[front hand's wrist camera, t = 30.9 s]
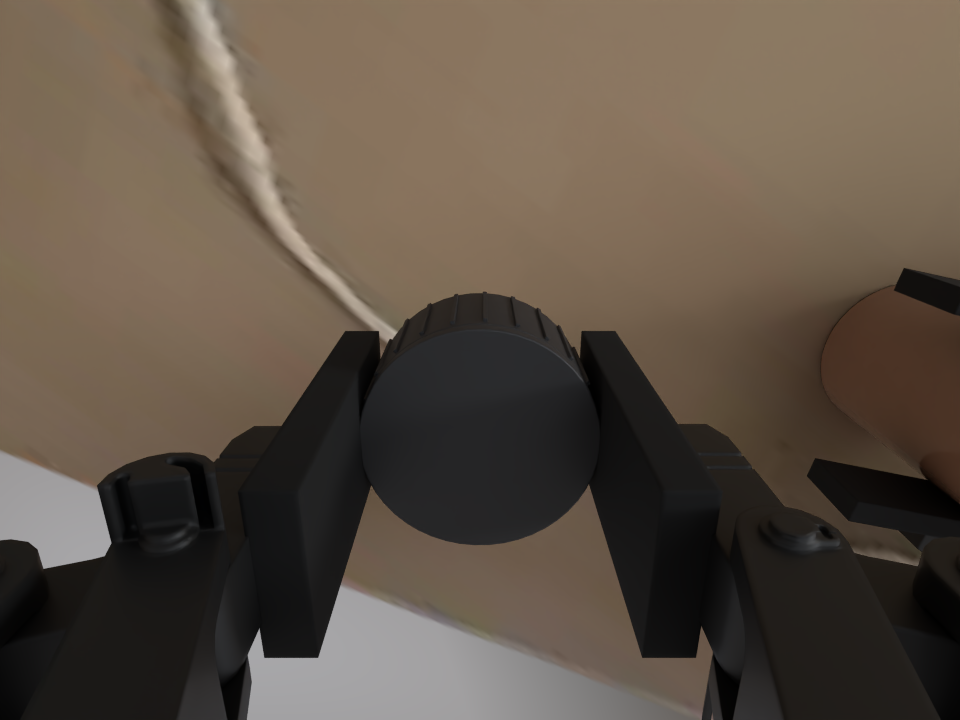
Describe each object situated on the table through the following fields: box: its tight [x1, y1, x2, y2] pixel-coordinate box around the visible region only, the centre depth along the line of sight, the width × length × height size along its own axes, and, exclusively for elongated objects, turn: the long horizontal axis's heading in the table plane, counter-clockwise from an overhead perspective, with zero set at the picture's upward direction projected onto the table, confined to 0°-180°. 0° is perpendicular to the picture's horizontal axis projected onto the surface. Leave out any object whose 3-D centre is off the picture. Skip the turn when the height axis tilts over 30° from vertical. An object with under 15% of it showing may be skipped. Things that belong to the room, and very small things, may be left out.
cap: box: [360, 292, 600, 545], centre depth 13 cm, size 5×5×3 cm
